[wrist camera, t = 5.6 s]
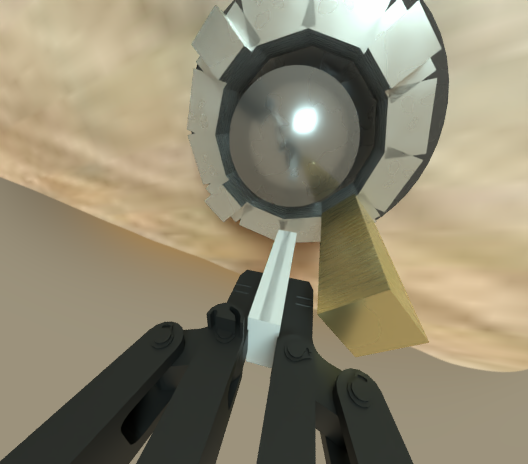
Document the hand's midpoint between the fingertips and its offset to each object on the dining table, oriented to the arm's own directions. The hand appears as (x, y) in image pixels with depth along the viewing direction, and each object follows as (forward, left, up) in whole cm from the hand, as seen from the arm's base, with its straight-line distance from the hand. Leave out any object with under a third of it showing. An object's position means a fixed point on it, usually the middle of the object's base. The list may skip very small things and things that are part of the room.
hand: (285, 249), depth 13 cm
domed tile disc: (-5, +3, -6) cm, 8 cm away
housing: (-5, +3, -8) cm, 10 cm away
